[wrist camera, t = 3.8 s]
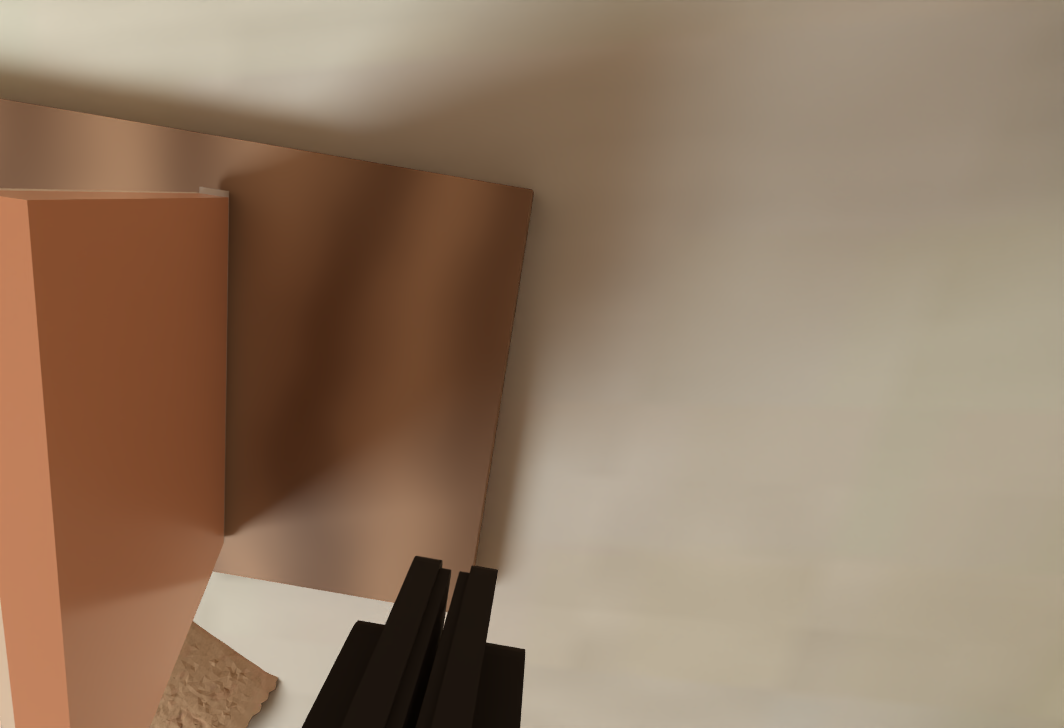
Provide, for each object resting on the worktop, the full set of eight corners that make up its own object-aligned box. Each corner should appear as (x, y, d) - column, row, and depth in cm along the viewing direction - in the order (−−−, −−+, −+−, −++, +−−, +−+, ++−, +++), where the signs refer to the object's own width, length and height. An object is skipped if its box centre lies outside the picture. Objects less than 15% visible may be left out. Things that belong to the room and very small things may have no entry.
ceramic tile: (25, 185, 7) (-70, 170, 7) (84, 899, 11) (24, 911, 11) (233, 191, 19) (201, 186, 19) (227, 536, 23) (201, 537, 22)
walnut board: (534, 192, 20) (532, 189, 18) (470, 592, 24) (465, 614, 23) (-141, 77, 20) (-196, 64, 18) (-76, 497, 24) (-117, 514, 23)
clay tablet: (164, 814, 30) (126, 870, 27) (5, 719, 28) (-51, 768, 26) (299, 657, 27) (271, 703, 24) (127, 542, 25) (77, 578, 23)
